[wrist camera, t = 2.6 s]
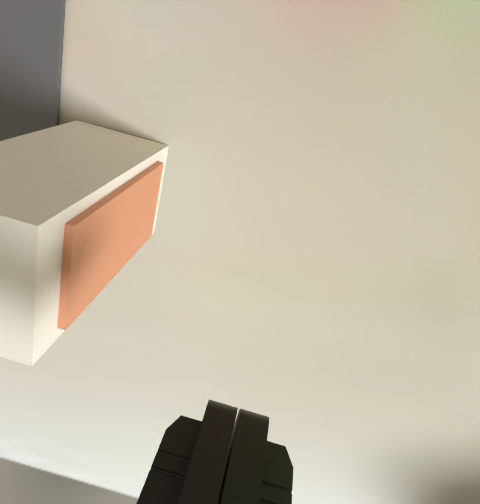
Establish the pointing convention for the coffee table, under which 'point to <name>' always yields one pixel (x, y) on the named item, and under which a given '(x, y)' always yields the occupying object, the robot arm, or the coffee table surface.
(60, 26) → the mat
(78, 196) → the tall block
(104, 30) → the coffee table surface
